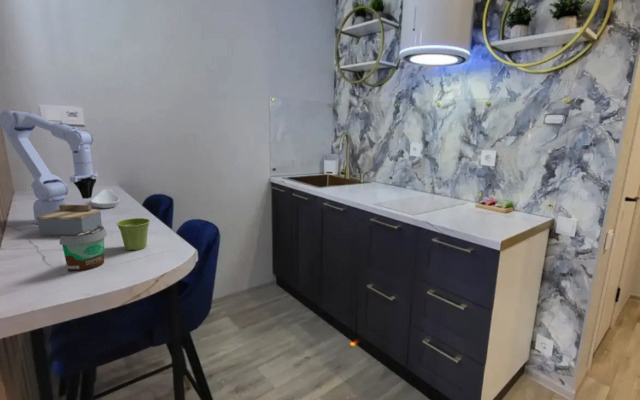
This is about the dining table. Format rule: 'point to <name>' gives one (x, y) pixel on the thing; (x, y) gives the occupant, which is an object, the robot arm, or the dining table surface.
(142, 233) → the plant pot
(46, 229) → the box
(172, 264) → the dining table surface
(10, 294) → the dining table surface
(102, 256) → the food container
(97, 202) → the spoon rest
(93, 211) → the lid
